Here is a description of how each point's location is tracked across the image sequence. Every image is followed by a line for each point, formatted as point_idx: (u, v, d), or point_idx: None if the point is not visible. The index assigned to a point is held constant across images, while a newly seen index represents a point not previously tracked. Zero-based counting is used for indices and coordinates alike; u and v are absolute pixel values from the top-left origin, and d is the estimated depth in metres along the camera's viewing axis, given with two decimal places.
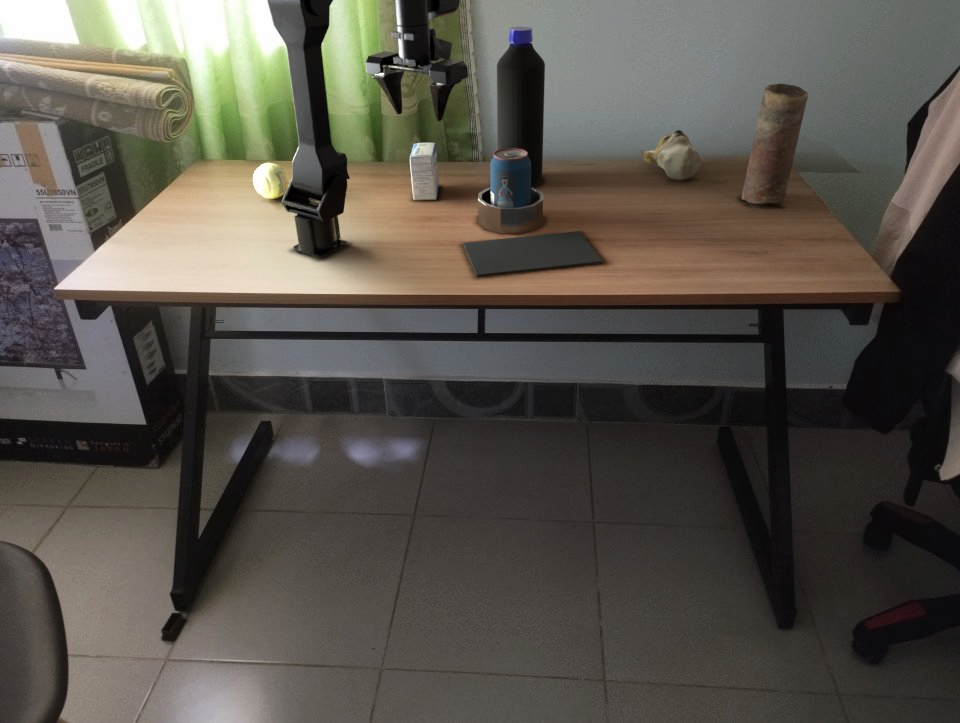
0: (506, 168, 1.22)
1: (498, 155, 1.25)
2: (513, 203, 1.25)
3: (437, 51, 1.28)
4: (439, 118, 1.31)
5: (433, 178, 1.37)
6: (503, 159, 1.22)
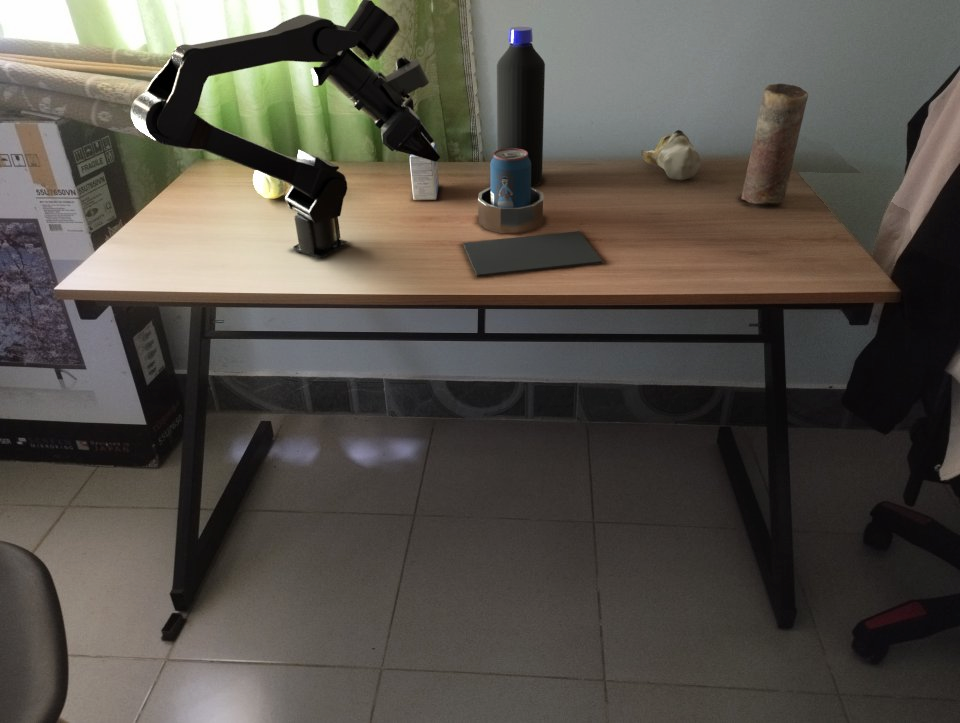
0: (506, 168, 1.22)
1: (498, 155, 1.25)
2: (513, 203, 1.25)
3: (396, 95, 1.13)
4: (434, 159, 1.17)
5: (433, 178, 1.37)
6: (503, 159, 1.22)
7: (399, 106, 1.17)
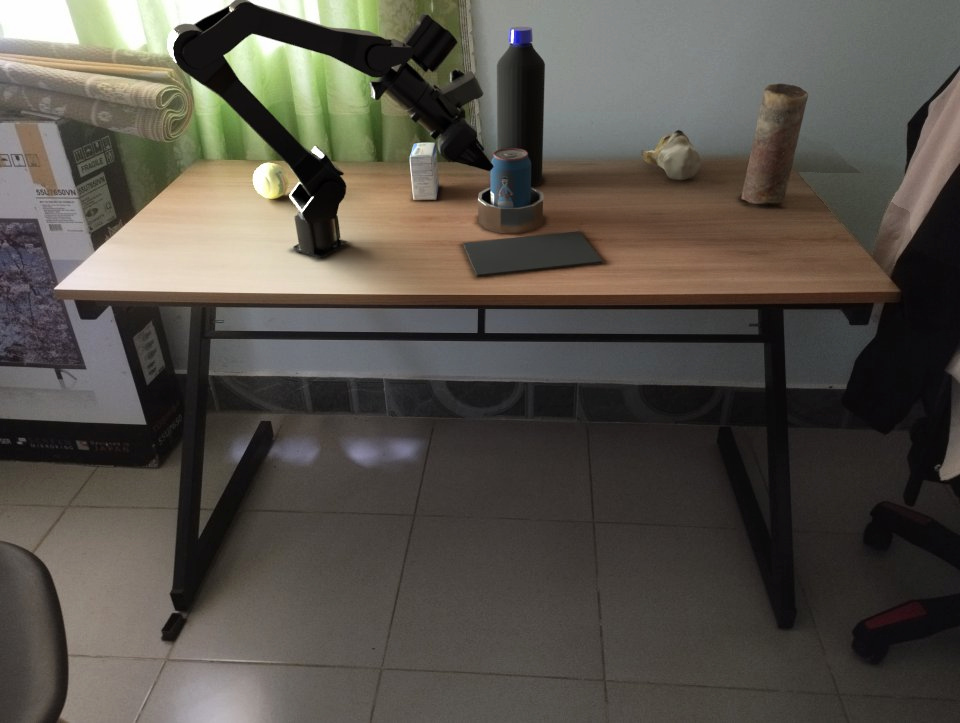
0: (506, 168, 1.22)
1: (498, 155, 1.25)
2: (513, 203, 1.25)
3: (452, 107, 1.16)
4: (488, 169, 1.20)
5: (433, 178, 1.37)
6: (503, 159, 1.22)
7: None
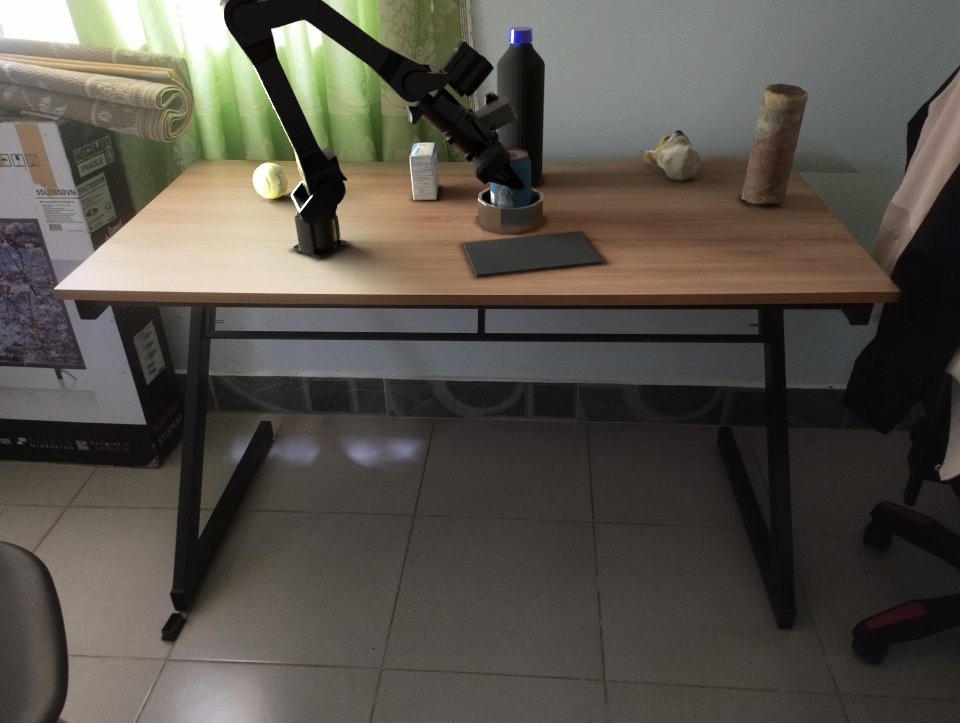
0: None
1: None
2: (513, 203, 1.25)
3: (487, 131, 1.19)
4: (519, 188, 1.24)
5: (433, 178, 1.37)
6: None
7: None
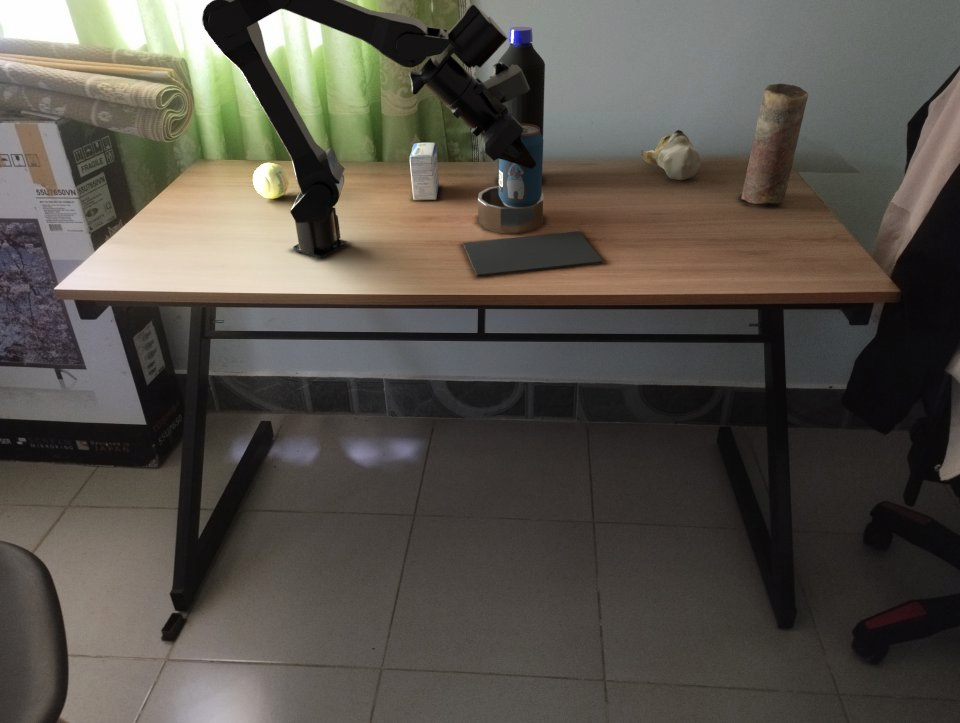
0: None
1: None
2: (523, 183, 1.16)
3: (496, 103, 1.09)
4: (530, 166, 1.14)
5: (433, 178, 1.37)
6: None
7: None
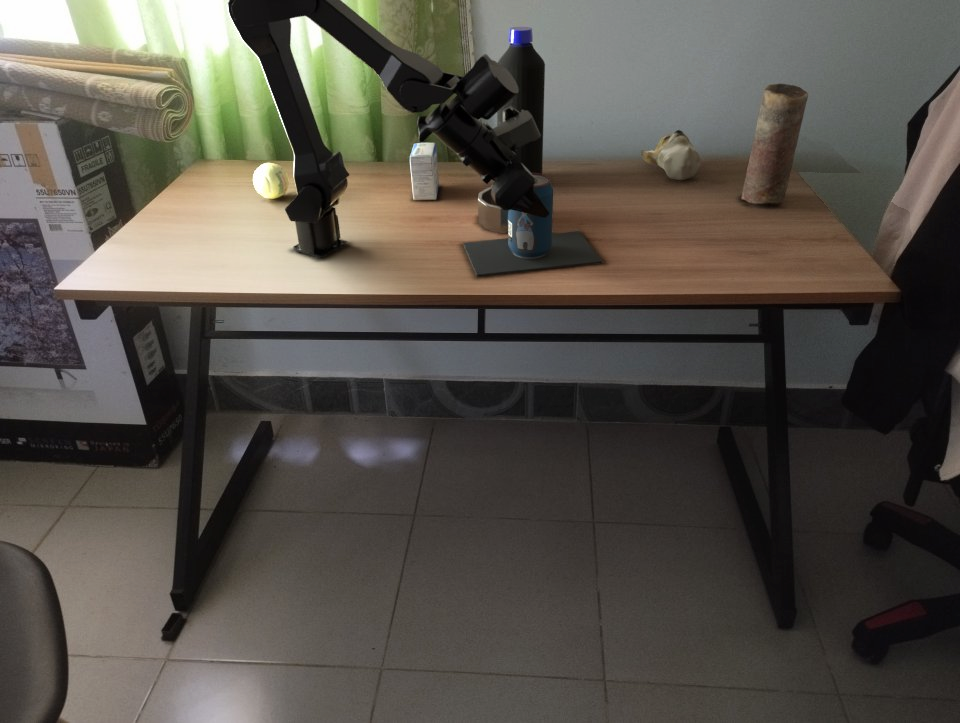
0: None
1: None
2: (533, 234, 1.14)
3: (507, 150, 1.06)
4: (543, 216, 1.11)
5: (433, 178, 1.37)
6: None
7: None
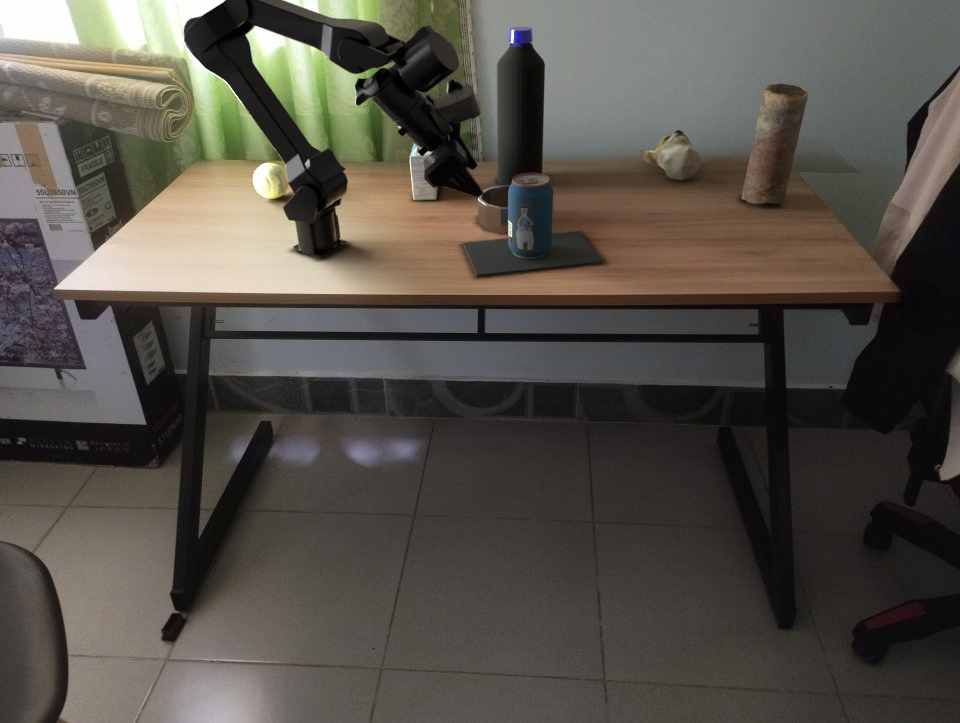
0: (526, 196, 1.11)
1: (517, 181, 1.13)
2: (532, 234, 1.14)
3: (444, 125, 1.04)
4: (476, 195, 1.09)
5: None
6: (523, 186, 1.10)
7: None
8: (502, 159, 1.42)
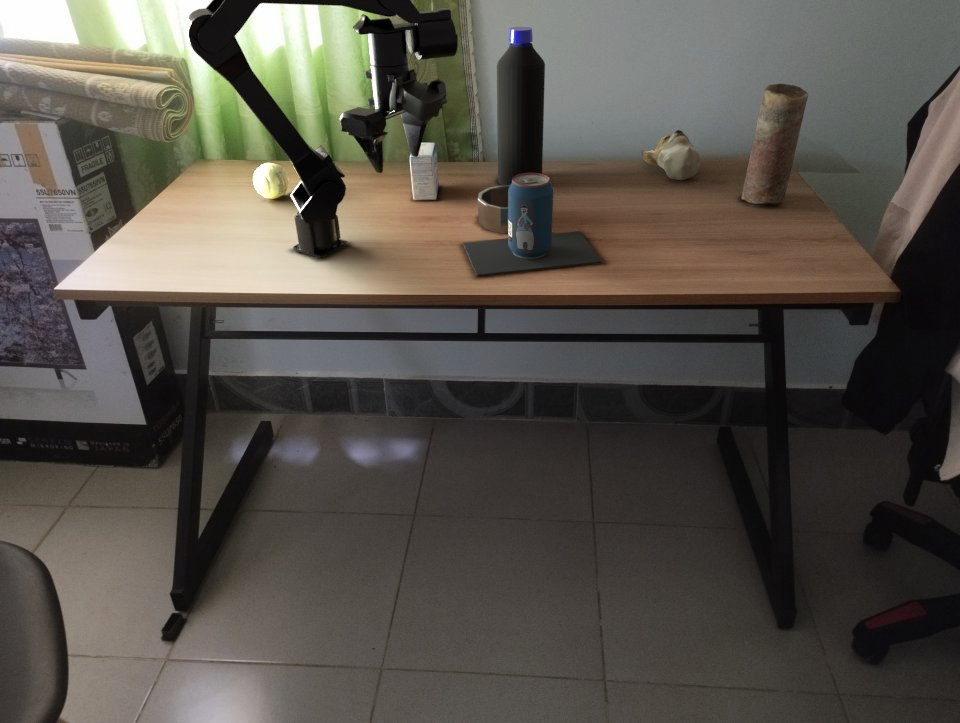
0: (526, 196, 1.11)
1: (517, 181, 1.13)
2: (532, 234, 1.14)
3: (393, 101, 1.11)
4: (375, 169, 1.17)
5: (433, 178, 1.37)
6: (523, 186, 1.10)
7: (402, 109, 1.16)
8: (502, 159, 1.42)
